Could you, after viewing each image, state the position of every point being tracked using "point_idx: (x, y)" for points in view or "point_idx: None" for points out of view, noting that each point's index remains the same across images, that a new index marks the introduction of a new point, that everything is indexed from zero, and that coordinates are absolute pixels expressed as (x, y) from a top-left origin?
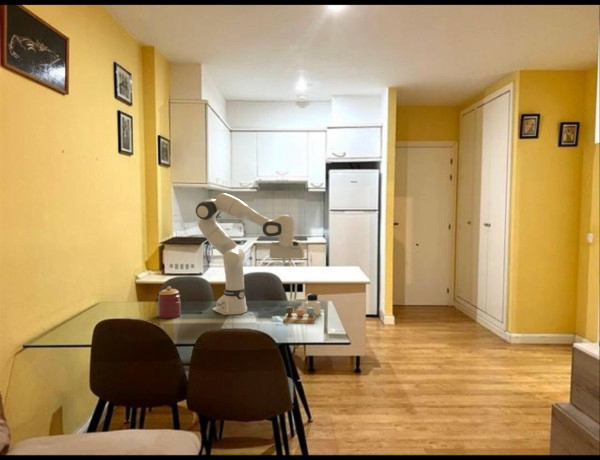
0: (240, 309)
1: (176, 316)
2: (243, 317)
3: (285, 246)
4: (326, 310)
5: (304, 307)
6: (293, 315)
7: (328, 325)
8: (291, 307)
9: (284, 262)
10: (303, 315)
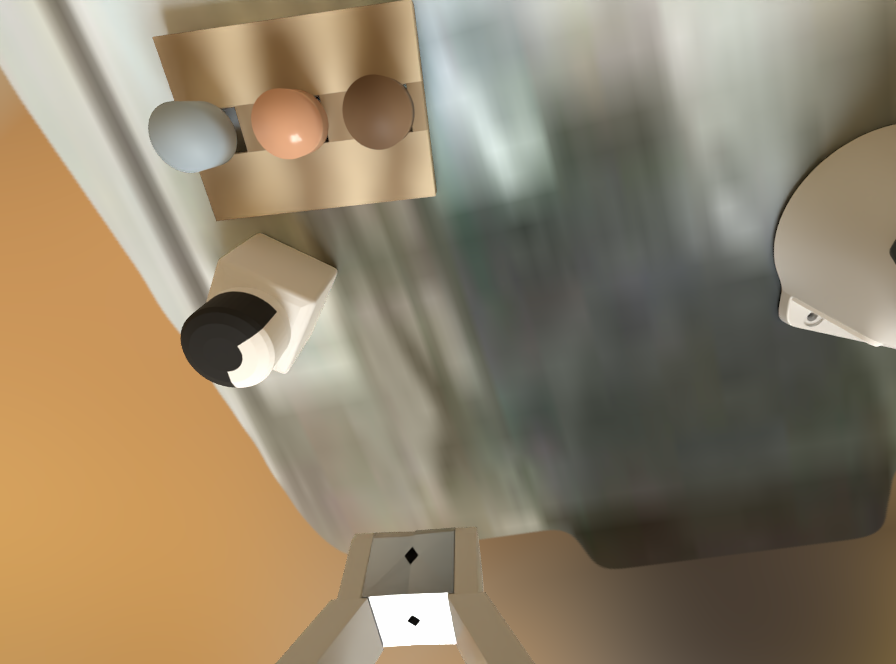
0: (847, 175)
1: None
2: (785, 68)
3: None
4: None
5: (321, 284)
6: None
7: (42, 21)
8: (355, 111)
9: (468, 610)
10: None
